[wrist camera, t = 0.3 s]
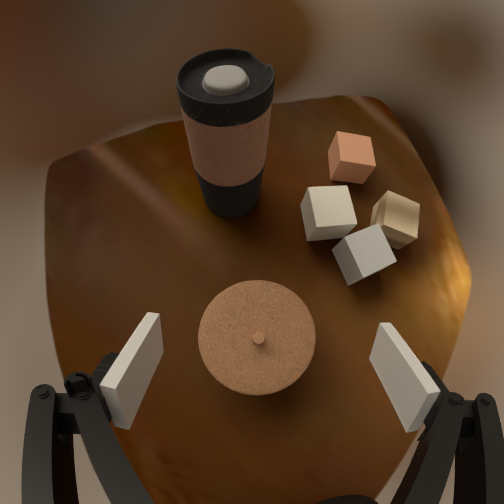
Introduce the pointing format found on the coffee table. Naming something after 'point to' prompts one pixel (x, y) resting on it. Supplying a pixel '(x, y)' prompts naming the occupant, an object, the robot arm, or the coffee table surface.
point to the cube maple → (396, 219)
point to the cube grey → (363, 254)
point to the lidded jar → (257, 337)
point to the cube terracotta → (351, 158)
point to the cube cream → (327, 212)
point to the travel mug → (227, 125)
